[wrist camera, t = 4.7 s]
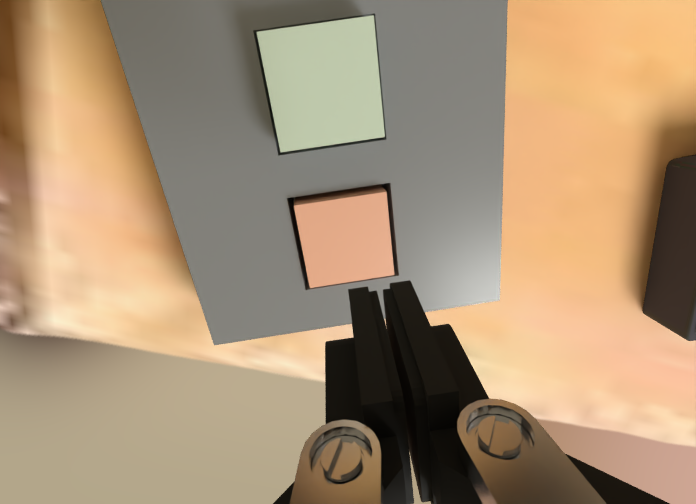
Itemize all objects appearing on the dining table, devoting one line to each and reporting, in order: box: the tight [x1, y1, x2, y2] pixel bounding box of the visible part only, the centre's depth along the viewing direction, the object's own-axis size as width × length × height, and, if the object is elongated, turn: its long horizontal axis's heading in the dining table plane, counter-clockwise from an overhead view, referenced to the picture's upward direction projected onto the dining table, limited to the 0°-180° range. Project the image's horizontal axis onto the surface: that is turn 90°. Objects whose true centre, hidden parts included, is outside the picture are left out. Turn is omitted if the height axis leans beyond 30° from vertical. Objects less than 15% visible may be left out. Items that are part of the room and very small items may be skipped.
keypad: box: [101, 0, 508, 345], centre depth 18 cm, size 24×16×4 cm, turn 8°
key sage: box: [257, 15, 385, 152], centre depth 16 cm, size 4×4×2 cm
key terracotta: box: [294, 184, 394, 288], centre depth 20 cm, size 4×4×2 cm
